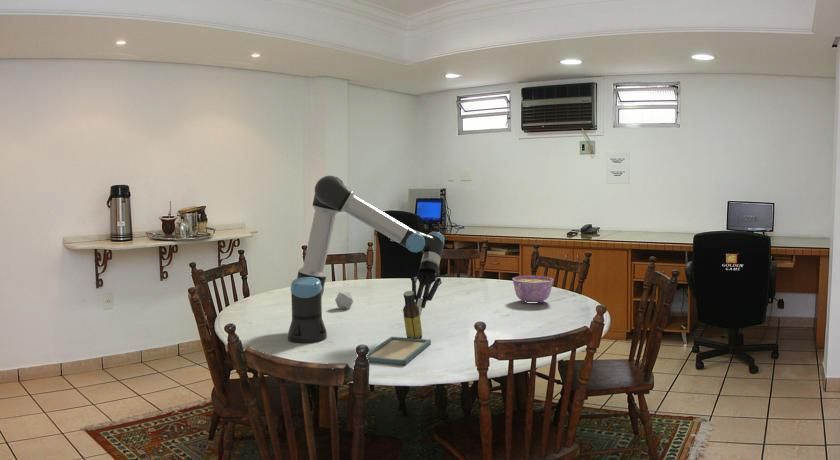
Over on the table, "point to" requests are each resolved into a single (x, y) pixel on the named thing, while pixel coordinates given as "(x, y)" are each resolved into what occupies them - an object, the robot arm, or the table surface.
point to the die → (344, 300)
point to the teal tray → (397, 350)
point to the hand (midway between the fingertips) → (417, 314)
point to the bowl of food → (532, 288)
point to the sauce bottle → (412, 316)
